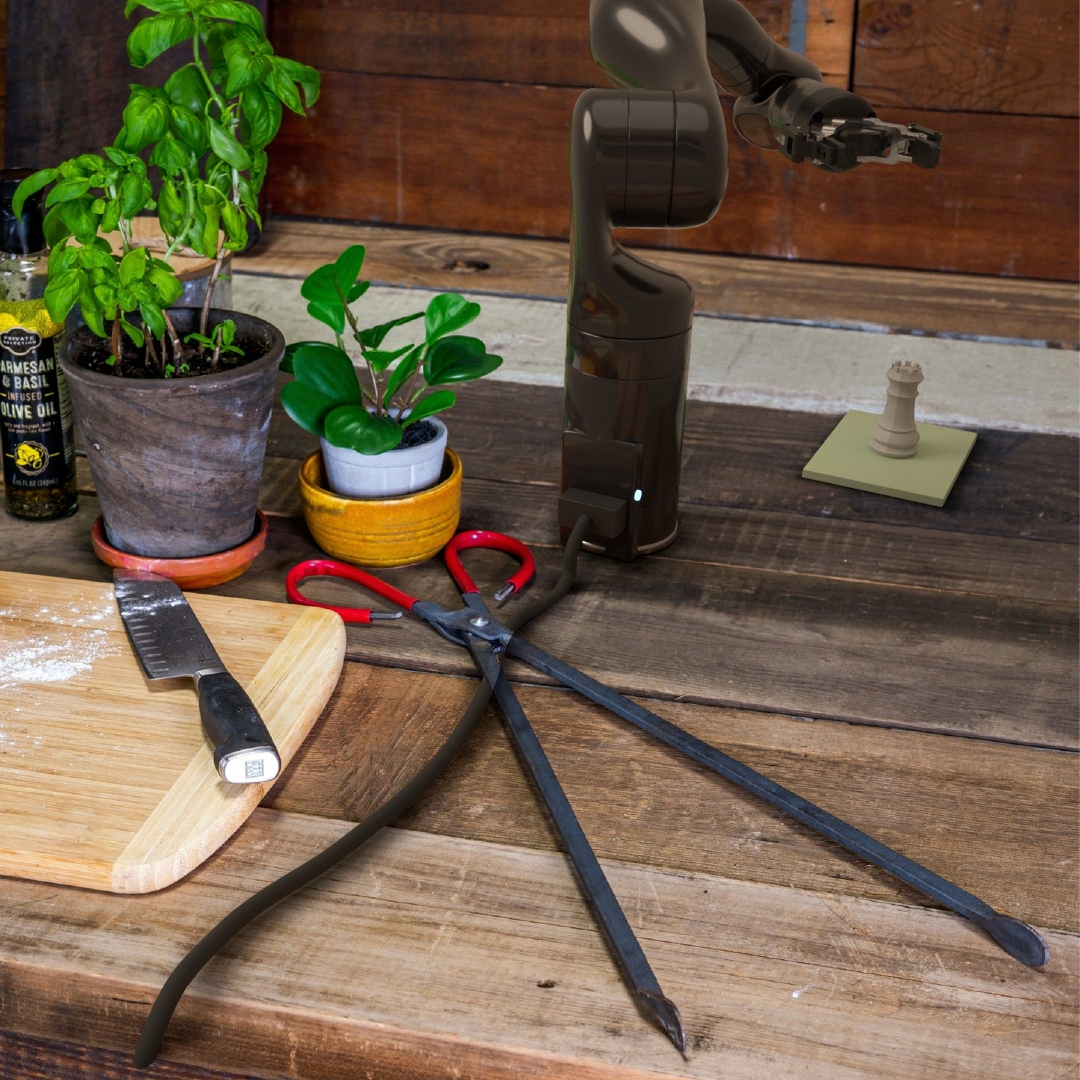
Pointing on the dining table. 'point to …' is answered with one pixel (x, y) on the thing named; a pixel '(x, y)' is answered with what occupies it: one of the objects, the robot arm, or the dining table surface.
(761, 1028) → the dining table surface
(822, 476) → the mat
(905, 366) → the rook chess piece
